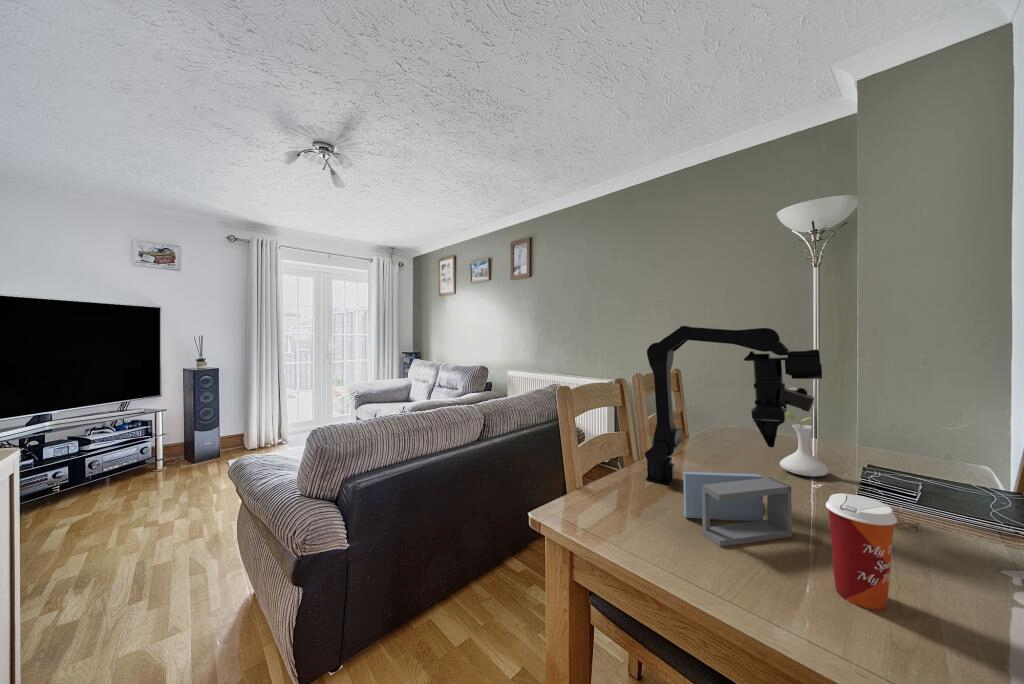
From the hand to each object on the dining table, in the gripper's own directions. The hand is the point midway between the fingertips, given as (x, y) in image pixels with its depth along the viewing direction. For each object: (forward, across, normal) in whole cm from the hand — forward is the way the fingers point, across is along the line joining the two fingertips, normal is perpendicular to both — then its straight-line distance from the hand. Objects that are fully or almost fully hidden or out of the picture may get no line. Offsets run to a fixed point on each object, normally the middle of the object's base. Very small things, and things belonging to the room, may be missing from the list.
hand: (772, 442), depth 91 cm
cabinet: (+15, -21, +4) cm, 26 cm away
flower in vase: (+16, +29, -5) cm, 33 cm away
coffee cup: (+16, -31, -12) cm, 37 cm away
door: (+14, -15, +9) cm, 23 cm away
